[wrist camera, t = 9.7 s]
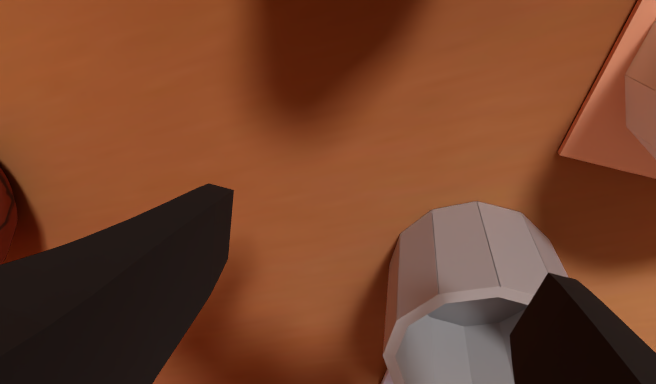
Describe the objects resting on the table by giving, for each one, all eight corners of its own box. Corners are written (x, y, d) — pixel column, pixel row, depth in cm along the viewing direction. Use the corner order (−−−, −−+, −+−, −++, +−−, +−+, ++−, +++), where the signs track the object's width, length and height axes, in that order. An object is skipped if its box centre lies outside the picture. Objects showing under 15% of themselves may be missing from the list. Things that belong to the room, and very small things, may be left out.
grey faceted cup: (512, 340, 23) (541, 446, 18) (376, 302, 24) (366, 396, 19) (583, 228, 19) (645, 324, 14) (416, 185, 20) (418, 264, 15)
